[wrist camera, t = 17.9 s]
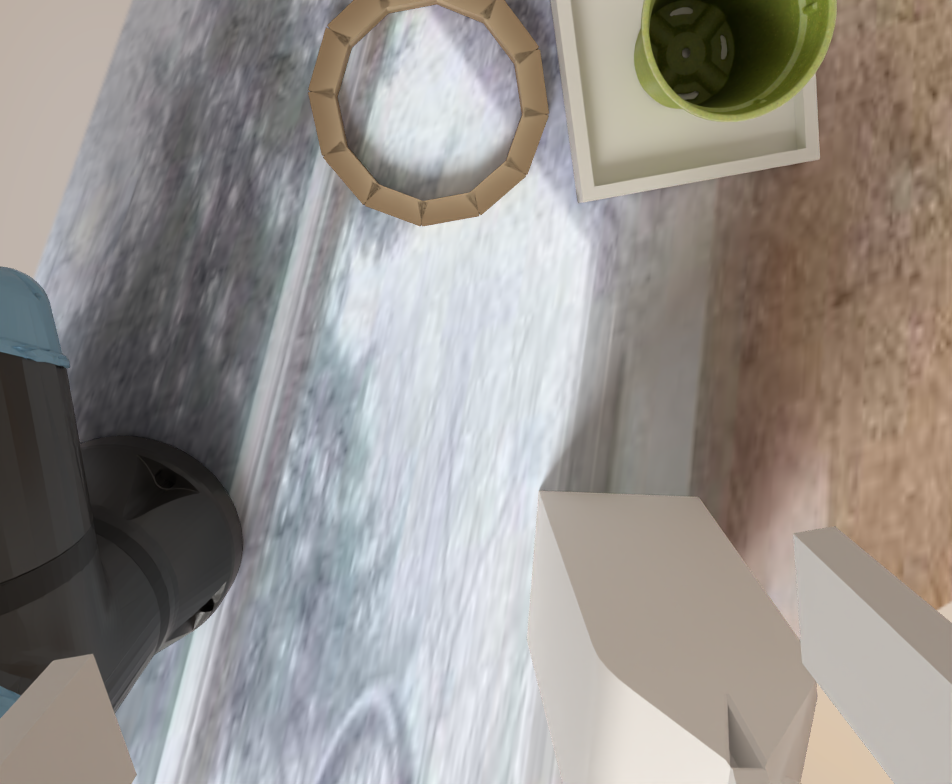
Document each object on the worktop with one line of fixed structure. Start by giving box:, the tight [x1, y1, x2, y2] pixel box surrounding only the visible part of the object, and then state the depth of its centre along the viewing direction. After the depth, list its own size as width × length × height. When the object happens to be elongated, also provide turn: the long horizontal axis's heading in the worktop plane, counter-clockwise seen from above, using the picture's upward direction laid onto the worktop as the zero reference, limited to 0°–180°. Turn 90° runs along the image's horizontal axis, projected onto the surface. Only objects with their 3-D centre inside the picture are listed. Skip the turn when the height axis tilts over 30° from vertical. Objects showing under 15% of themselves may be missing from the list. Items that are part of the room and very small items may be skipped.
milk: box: [527, 491, 817, 784], centre depth 39 cm, size 12×12×26 cm
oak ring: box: [308, 0, 549, 226], centre depth 42 cm, size 14×14×1 cm
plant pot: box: [634, 0, 837, 122], centre depth 38 cm, size 9×9×9 cm
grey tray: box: [550, 0, 820, 203], centre depth 42 cm, size 15×15×2 cm
